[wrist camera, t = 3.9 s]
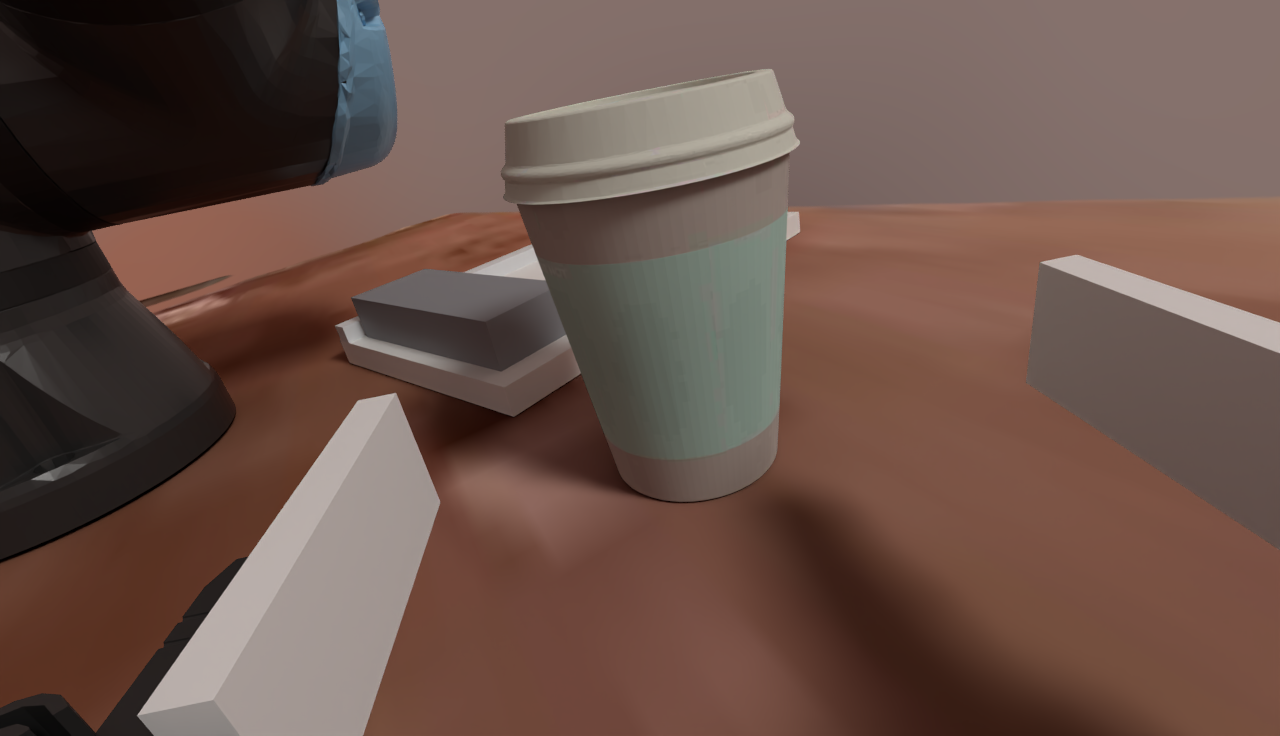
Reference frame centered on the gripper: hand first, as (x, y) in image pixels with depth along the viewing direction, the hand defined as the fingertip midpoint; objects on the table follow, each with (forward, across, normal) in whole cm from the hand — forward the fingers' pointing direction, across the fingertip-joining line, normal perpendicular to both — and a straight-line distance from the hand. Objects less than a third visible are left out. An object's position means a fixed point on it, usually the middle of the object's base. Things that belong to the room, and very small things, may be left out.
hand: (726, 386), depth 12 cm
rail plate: (+28, -3, -6) cm, 29 cm away
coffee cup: (+7, 0, -7) cm, 10 cm away
